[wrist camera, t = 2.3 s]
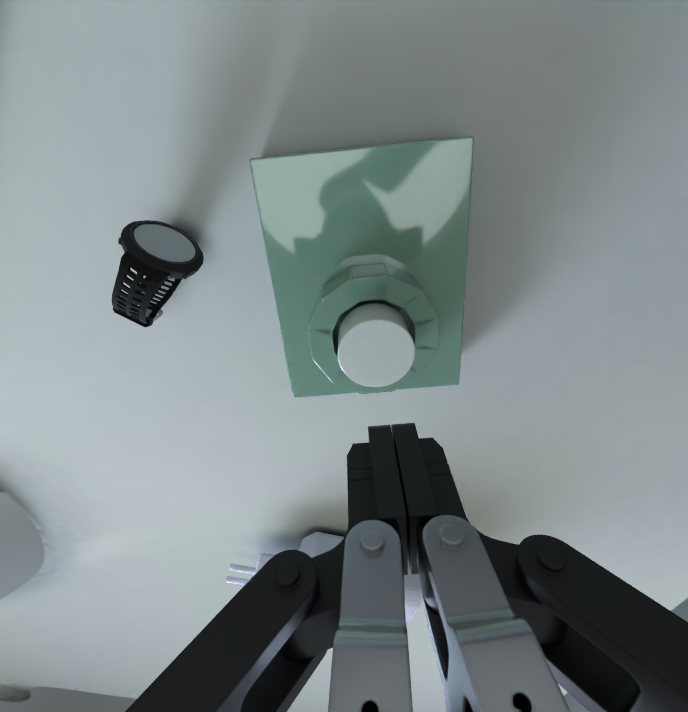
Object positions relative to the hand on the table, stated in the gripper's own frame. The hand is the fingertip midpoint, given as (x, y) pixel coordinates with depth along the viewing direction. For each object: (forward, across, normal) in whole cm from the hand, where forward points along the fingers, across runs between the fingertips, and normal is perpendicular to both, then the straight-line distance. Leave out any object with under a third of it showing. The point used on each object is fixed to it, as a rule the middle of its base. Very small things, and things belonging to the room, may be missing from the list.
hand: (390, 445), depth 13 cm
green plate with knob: (+12, 0, -2) cm, 12 cm away
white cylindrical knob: (+8, 0, 0) cm, 8 cm away
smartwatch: (+12, +11, -4) cm, 17 cm away
